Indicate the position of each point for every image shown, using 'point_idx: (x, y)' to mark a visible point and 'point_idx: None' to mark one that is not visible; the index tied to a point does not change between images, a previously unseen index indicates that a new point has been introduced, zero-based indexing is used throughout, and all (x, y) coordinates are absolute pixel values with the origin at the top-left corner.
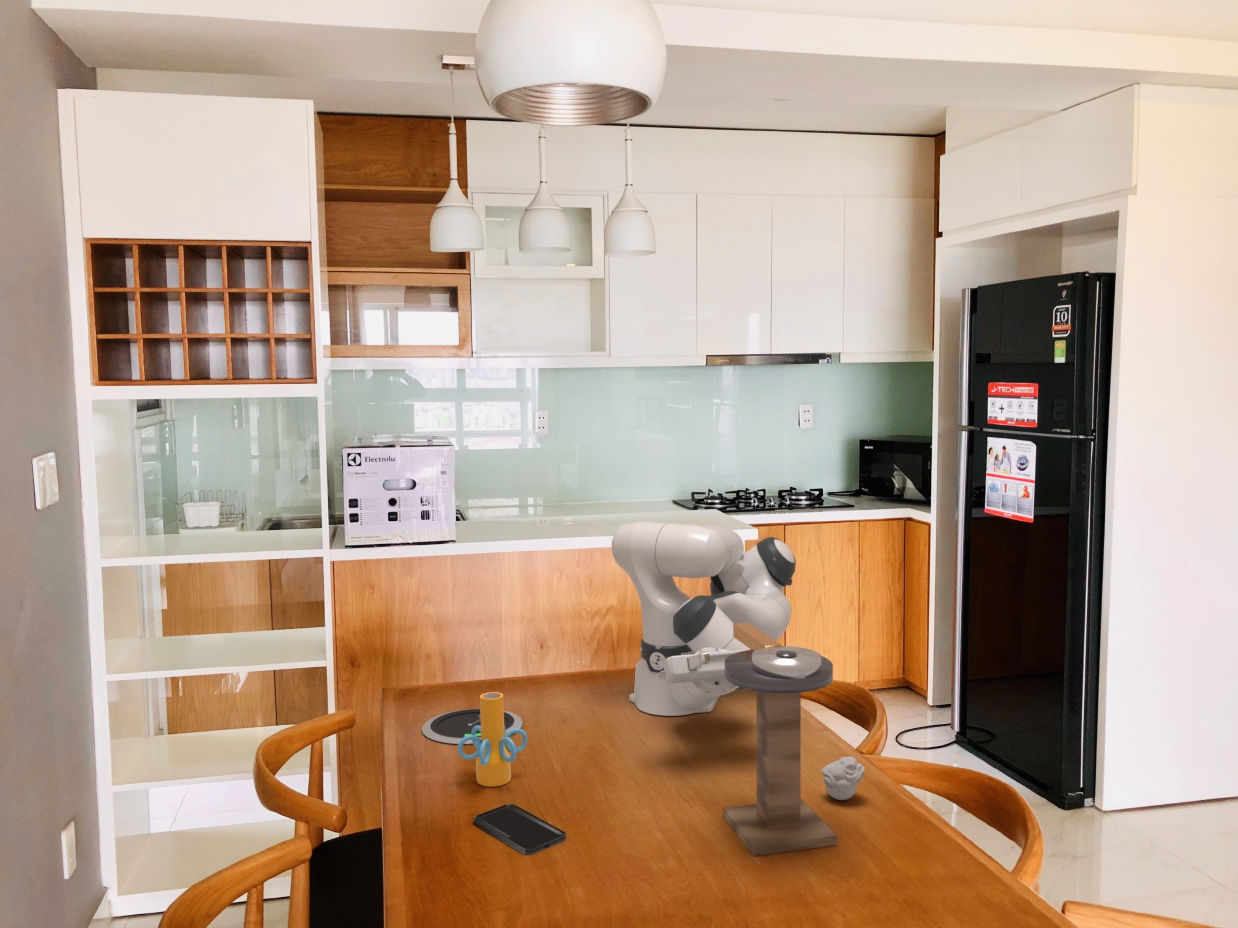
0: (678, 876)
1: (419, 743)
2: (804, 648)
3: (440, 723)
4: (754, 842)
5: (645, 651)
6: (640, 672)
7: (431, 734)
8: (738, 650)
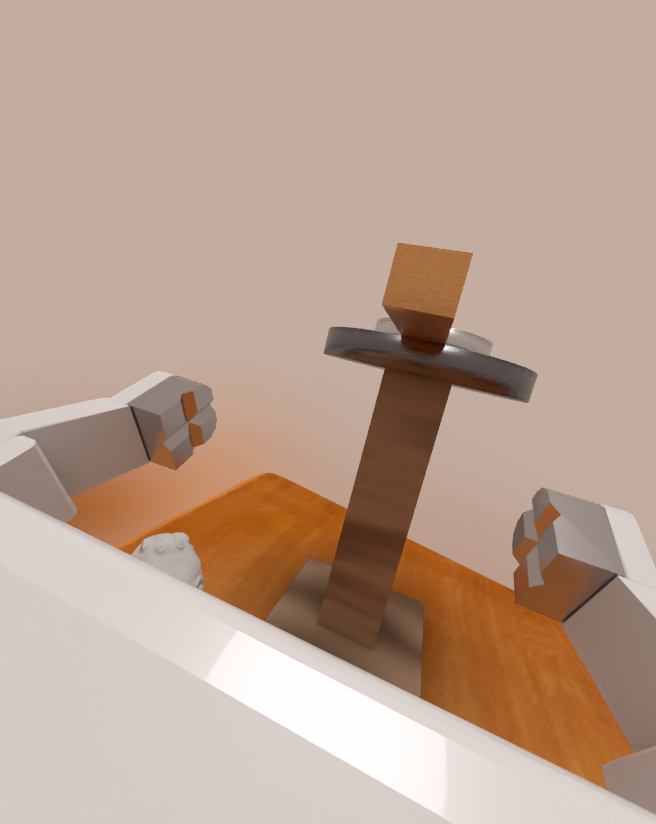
0: (537, 650)
1: None
2: (383, 319)
3: None
4: (418, 608)
5: None
6: None
7: None
8: (31, 516)
